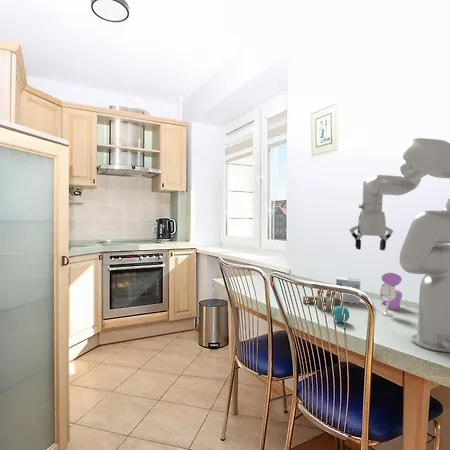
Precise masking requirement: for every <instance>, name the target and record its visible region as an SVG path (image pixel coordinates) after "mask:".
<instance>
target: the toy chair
mask: <svg viewBox="0 0 450 450" xmlns="http://www.w3.org/2000/svg"><path fill="white" fill-rule="evenodd" d="M402 279H403V278H402V277H401V275H399V274H398V273H395V272H387V273H384V274H383V275H381V281H382V282H383V284H387V285H393V286H395V287H396V286H398V285H399V286H400V284H401V282H402ZM395 292H396V296H395V299H394V300H392V301H388V303H389V304H388V310H394V311H395V310H396V311H402V308H401V300H402V297H403V292H401V291H400V290H398V289H395ZM386 302H387V301H385V300H383V299H382V302H381V305H386ZM385 310H386V307H385Z"/></svg>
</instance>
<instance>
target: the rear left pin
mask: <svg viewBox="0 0 450 450" xmlns="http://www.w3.org/2000/svg"><path fill="white" fill-rule="evenodd" d="M324 291H325V290H322V293H323V294H324ZM316 292H317V296H316V297H317V304H316V309H321V310H322V309H323V307H324V306H323V307H322V300H321V295H320V290H318V289H317V291H316Z"/></svg>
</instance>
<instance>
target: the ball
mask: <svg viewBox="0 0 450 450" xmlns="http://www.w3.org/2000/svg"><path fill="white" fill-rule="evenodd" d="M342 306H343V305H336V307H334V315H335V319H334V321H335V322H338V323H346V322H347V321H348V320H349V319H350V312H349V310H348V309H347V307H345V306H343V307H344V314H345V322H343V315H342ZM331 314H332V313H331ZM332 316H333V314H332Z"/></svg>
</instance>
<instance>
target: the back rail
mask: <svg viewBox="0 0 450 450" xmlns="http://www.w3.org/2000/svg"><path fill="white" fill-rule="evenodd" d="M305 296H306V295H303V297H302V299H303V300H302V303H303V304H304V305H307V304H306V300H305ZM313 297H315V300H316V304H314V302H313ZM313 297H312V296H310V295H309V296H308V295H307V298H308V302H309V304H308V305H317V296H313ZM323 298H324V303H325V305H324V306H326V296H323ZM335 306H341V302H340V298H337V297H336V296H335Z"/></svg>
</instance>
